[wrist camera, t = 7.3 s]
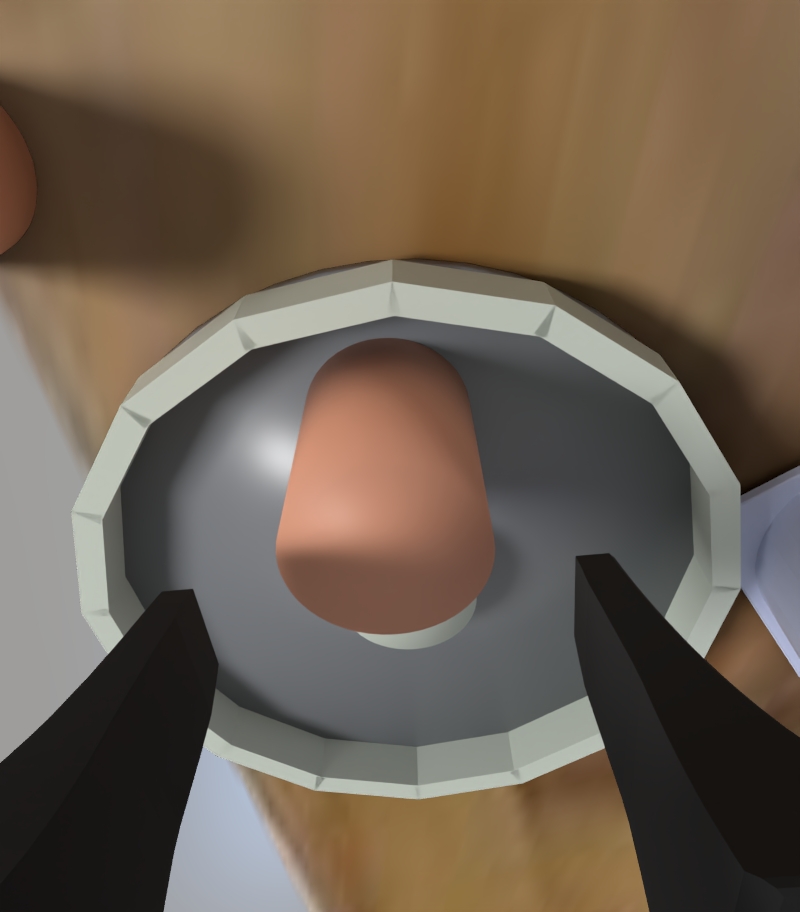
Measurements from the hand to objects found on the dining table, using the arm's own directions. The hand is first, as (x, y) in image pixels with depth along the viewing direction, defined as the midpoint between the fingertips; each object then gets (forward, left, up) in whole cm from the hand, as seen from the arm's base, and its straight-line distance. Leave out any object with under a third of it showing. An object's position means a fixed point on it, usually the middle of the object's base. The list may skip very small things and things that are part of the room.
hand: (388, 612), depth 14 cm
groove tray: (-5, +3, -8) cm, 10 cm away
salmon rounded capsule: (0, 0, -8) cm, 8 cm away
